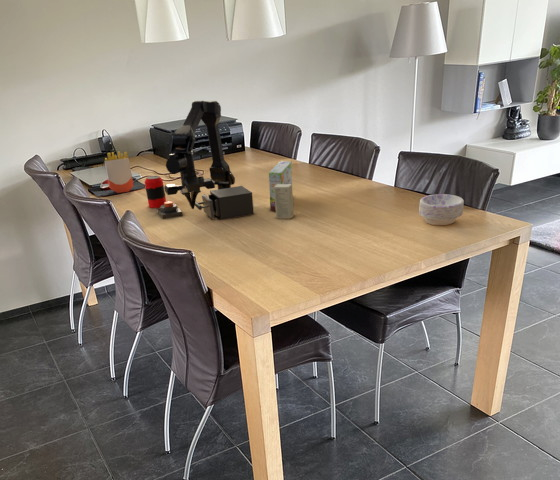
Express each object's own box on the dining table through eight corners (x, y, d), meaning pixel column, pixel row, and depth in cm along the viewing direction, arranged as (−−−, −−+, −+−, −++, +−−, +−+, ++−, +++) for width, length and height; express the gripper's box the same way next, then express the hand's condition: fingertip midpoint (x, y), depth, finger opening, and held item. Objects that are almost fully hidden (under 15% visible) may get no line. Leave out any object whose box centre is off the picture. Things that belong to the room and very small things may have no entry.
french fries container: (110, 192, 273) (101, 152, 263) (132, 188, 276) (125, 149, 267) (111, 194, 269) (103, 154, 260) (134, 190, 273) (127, 150, 263)
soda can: (170, 204, 248) (165, 175, 242) (160, 209, 242) (155, 180, 236) (155, 203, 251) (150, 174, 245) (145, 207, 245) (140, 179, 239)
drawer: (201, 220, 222) (198, 202, 218) (193, 213, 231) (191, 196, 227) (241, 213, 227) (240, 196, 223) (233, 206, 236) (231, 190, 232)
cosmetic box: (294, 215, 223) (292, 183, 217) (290, 219, 220) (289, 186, 213) (279, 215, 225) (277, 183, 219) (275, 218, 222) (273, 186, 215)
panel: (158, 212, 238) (156, 204, 236) (176, 209, 240) (175, 201, 238) (163, 219, 230) (161, 210, 228) (182, 215, 232) (181, 207, 230)
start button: (163, 206, 234) (162, 202, 233) (172, 204, 235) (171, 200, 234) (165, 208, 231) (164, 204, 230) (174, 207, 232) (173, 202, 231)
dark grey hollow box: (221, 219, 224) (218, 197, 219) (212, 212, 234) (209, 190, 230) (253, 214, 228) (252, 192, 223) (243, 206, 238) (242, 185, 233)
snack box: (283, 211, 229) (281, 172, 221) (269, 211, 230) (267, 172, 222) (293, 196, 247) (292, 160, 239) (280, 196, 248) (278, 160, 240)
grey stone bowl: (437, 231, 198) (439, 208, 194) (409, 220, 210) (411, 198, 205) (471, 222, 203) (473, 200, 199) (442, 212, 215) (444, 191, 211)
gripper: (167, 175, 208) (174, 217, 217) (216, 168, 214) (221, 210, 222) (161, 169, 217) (167, 210, 226) (208, 162, 223) (213, 203, 231)
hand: (192, 208), depth 226 cm, fingers closed
